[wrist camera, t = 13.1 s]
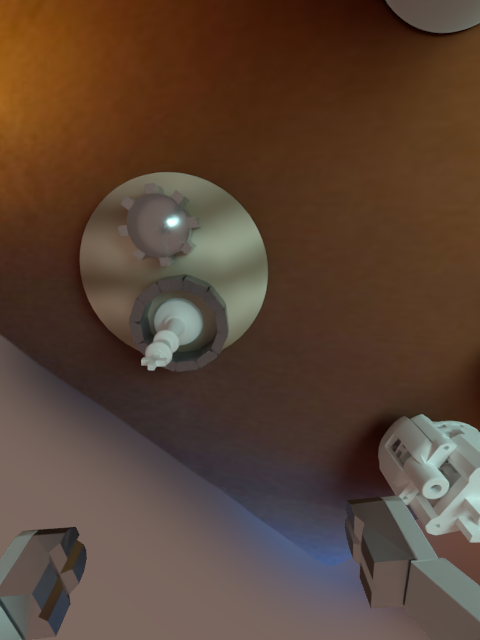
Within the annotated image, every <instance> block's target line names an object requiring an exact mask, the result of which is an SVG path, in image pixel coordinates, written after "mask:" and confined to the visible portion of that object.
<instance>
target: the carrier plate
mask: <svg viewBox="0 0 480 640" xmlns="http://www.w3.org/2000/svg"><path fill="white" fill-rule="evenodd" d="M150 183H155V184H157V185H158V186H160V187H162V188H163V190H164V195H166V196H169V197H171V196H172V195H173V193H174V192H175V190H177V191H178V192H180V193H181V194H183V195H184V196H185V197H186V198H188V199H189V200H190V201H189V202H188V204H187V205H186V206H185V208H186V209H187V210H188V212H189V214H190V216H191V217H195V216H196V217H198V218H200V223H201V227H199V228H193V235H192V238H191V241H192V242H193V243H194V244H196V245H197V246H196V248H195V249H194V251H193V252H192V253H190V254H188V255H186V254H185V253H184V252H182V251H181V252H179V253H176V260H177V262H175V263H173V264H172V265H169V266H161V265H160V260H159V258H156V257H152V256H151V258H148V259H145V260H142V261H140V260H139V259H137V258H136V257H135V256H133V254H134V252H135V251H136V249H137V247H136V246H135V245H134V243H133V242H132V240H131V239H130V237H129V236H120V234H119V230H118V226H124V225H127V215H128V212H129V210H127V209H126V208H125V207H124V206H122V205H121V203H122V202H123V200H124V198H125V197H126V196H128V197H131V198H134V199H138V198H140V197H141V196H143V195H146V191H145V186H144V184H150ZM80 272H81V278H82V282H83V287H84V290H85V292H86V295H87V298H88V300H89V302H90V304H91V306H92V308H93V310H94V311H95V313H96V314H97V316H98V317H99V319H100V320H101V321H102V322H103V323H104V325H105V326H106V327H107V328H108V329H109V330H110V331H111V332H112V333H113V334H114V335H115V336H116V337H118V338H119V339H120V340H122V341H123V342H124V343H126V344H127V345H129V346H131V347H133V348H134V349H136V350H138V349H137V347H136V345H137V344H134V342H133V338H132V334H131V330H130V326H129V322H130V321H129V318H130V315H131V312H132V308H133V305H134V302H135V299H136V298H137V297H138V296H139V295H140V294H141V293H143V292H144V291H145V290H146V289H148V288H149V287H150V286H151V285H153V284H154V283H155V282H157V281H158V280H160V279H161V278H163V277H168V276H176V275H184V274H187V276H188V275H191V276H193V277H196V278H198V279H201V280H203V281H205V282H208V283H210V284H209V286H210V285H212V286H213V287H214V288H215V290H216V291H217V292H218V293H219V295H220V296H221V297H222V298H223V300H224V301H225V304H226V307H227V314H228V322H229V333H228V337H227V339H226V341H225V343H224V346H223V348H222V350H223V349H224V348H226V347H228V346H229V345H231V344H232V343H234V342H235V341H236V340H237V339H238V338H240V337H241V336H242V335H243V334H244V333H245V332H246V330H247V329H248V328H249V327H250V325H251V324H252V323H253V321H254V320H255V318H256V316H257V314H258V313H259V311H260V308H261V306H262V303H263V301H264V297H265V293H266V289H267V280H268V263H267V257H266V251H265V247H264V244H263V241H262V238H261V236H260V233H259V231H258V229H257V227H256V225H255V223H254V222H253V220H252V218H251V217H250V215H249V214H248V213H247V212H246V210H245V209H244V208H243V207H242V205H241V204H240V203H239V202H237V201H236V200H235V199H234V198H233V197H232V196H231V195H230V194H228V193H227V192H226V191H224V190H223V189H222V188H220V187H218V186H216V185H215V184H213V183H211V182H209V181H207V180H204V179H202V178H199V177H196V176H192V175H188V174H184V173H175V172H160V173H152V174H147V175H142V176H140V177H137V178H134V179H131V180H129V181H127V182H125V183H124V184H122V185H120V186H118V187H117V188H116V189H114V190H113V191H112V192H110V193H109V194H108V195H107V196H106V197H105V198H104V199H103V200H102V201H101V202H100V203H99V205H98V206H97V208H96V209H95V210H94V212H93V213H92V215H91V217H90V219H89V221H88V223H87V225H86V228H85V231H84V234H83V237H82V242H81V248H80ZM171 298H184V299H187V300H189V301H191V302H193V303H194V304H195V305H196V306H197V307H198V308H199V310H200V311H201V313H202V316H203V328H202V331H201V333H200V334H199V336H198V337H197V338H196V339H195V340H194V341H192V342H191V343H189V344H186V345H179V347H178V349H177V351H180V352H184V351H193V350H199V349H200V348H202V347H203V346H204V345H206V344H207V343H209V342H210V341H211V340H212V339H213V337H214V335H215V332H216V330H217V324H216V318H215V313H214V312H213V311H212V309H211V308H210V307H209V306H208V305H207V303H206V302H205V301H204V300H203V298H201V297H199V296H196V295H194V294H191V293H189V292H187V291H184V290H176V291H168V292H161V293H160V294H159V295H157V296H156V297H155V298H154V299H153V301H152V303H151V306H150V309H149V312H148V319H149V323H150V328H151V332H152V333H153V334H154V335H156V334H157V332H156V330H155V327H154V315H155V313H156V310H157V308H158V307H159V306H160V305H161V304H162V303H163V302H164V301H166V300H168V299H171ZM138 351H139V350H138Z"/></svg>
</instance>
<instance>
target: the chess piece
mask: <svg viewBox="0 0 480 640" xmlns="http://www.w3.org/2000/svg"><path fill="white" fill-rule="evenodd" d="M154 327H155V330H156V332H157V334H156V335H155V336H154V339H153V343H151V344H150V345H149V346H148V347H147V348H146V351H145V356H146V357H143V358H142V359H141V366H148V370H155V368H156V367H162V366H166V365H167V364H169V363H170V361H171V359H172V353H173V352H175V351H176V350H177V349H178V347H179V345H186V344H189V343H191V342H192V341H194V340H195V339H196V338H197V337H198V336H199V334H200V333H201V331H202V328H203V316H202V313H201V311H200V310H199V308H198V307H197V306H196V305H195V304H194V303H193V302H191V301H189V300H187V299H184V298H171V299H168V300H166V301H164V302H163V303H162V304H161V305H160V306H159V307H158V308H157V310H156V313H155V315H154Z"/></svg>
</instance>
